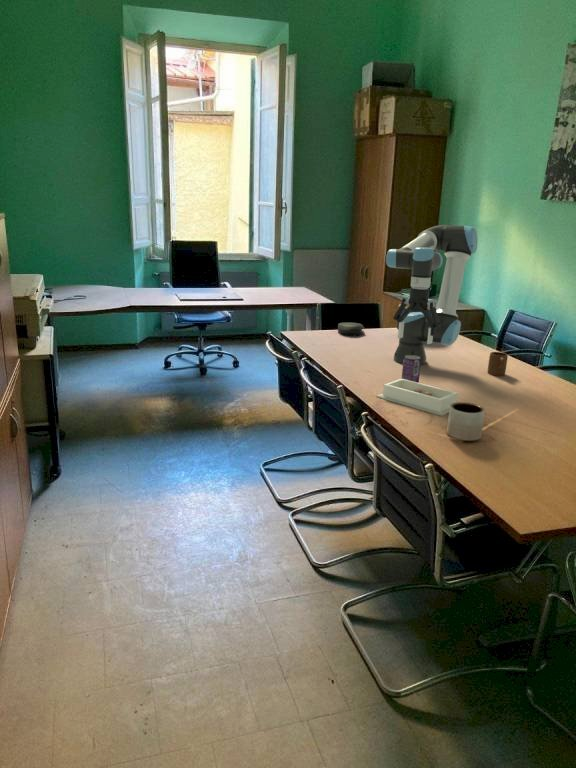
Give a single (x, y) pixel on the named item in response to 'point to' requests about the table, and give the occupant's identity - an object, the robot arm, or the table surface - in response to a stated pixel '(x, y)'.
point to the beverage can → (411, 368)
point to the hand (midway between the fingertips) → (414, 340)
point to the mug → (497, 363)
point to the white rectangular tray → (419, 396)
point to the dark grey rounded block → (350, 329)
